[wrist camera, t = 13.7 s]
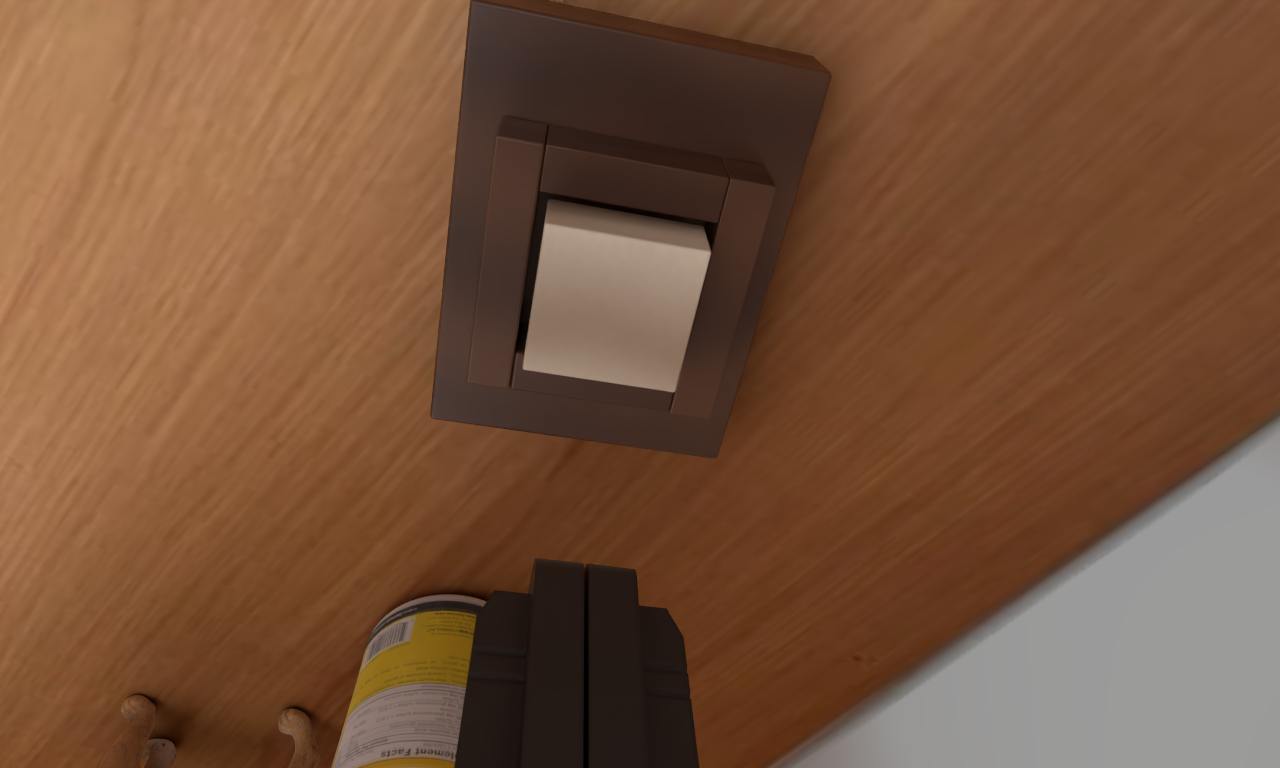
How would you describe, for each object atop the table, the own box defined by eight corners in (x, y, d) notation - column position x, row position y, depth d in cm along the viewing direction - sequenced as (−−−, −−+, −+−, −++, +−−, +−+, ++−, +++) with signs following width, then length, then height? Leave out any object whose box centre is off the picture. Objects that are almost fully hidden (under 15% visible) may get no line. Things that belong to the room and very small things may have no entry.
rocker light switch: (480, -14, 23) (459, 9, 19) (814, 56, 24) (851, 89, 20) (440, 382, 29) (419, 453, 25) (709, 421, 30) (724, 495, 26)
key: (548, 197, 22) (544, 222, 20) (704, 225, 22) (712, 251, 21) (526, 338, 24) (521, 370, 22) (670, 360, 24) (675, 393, 23)
